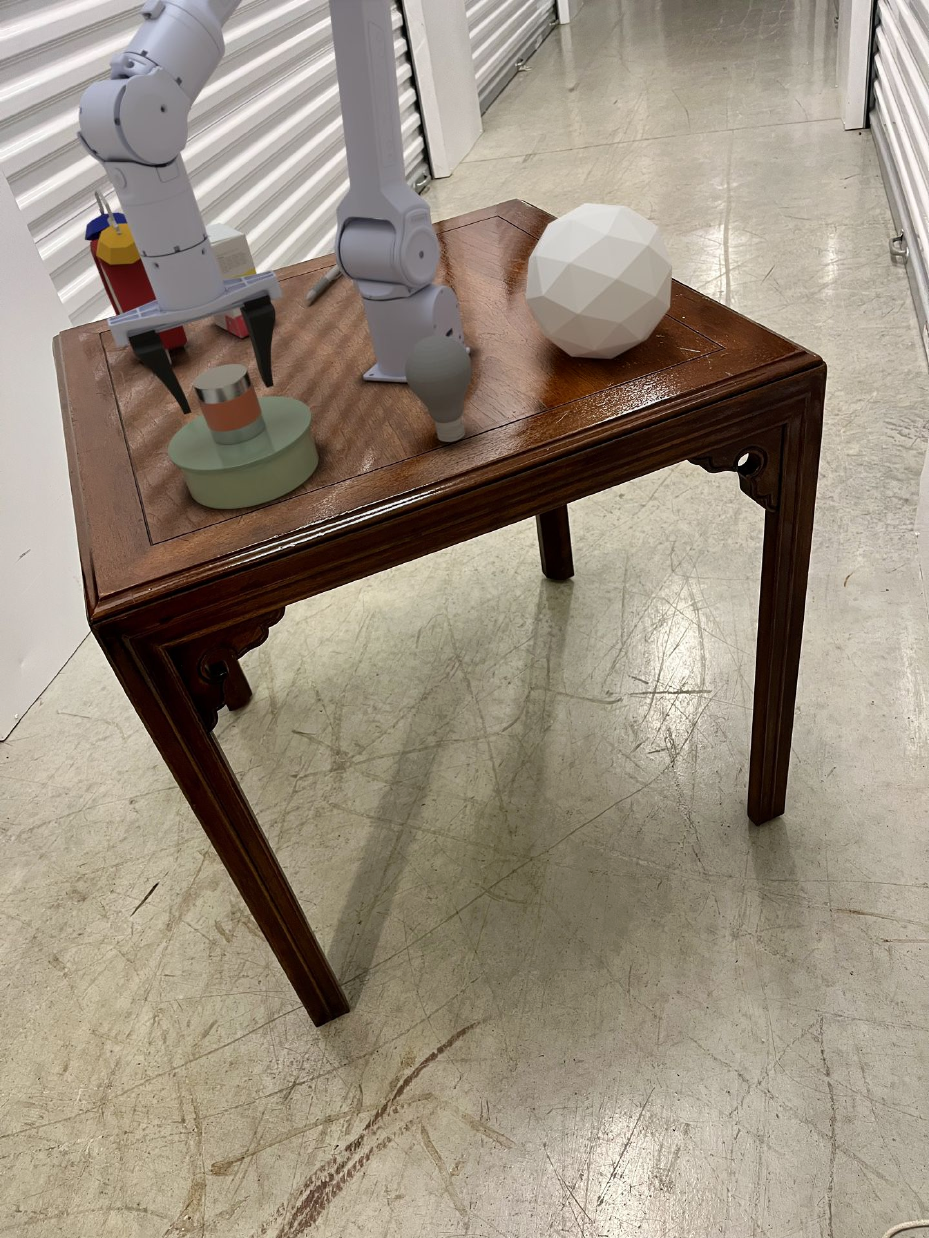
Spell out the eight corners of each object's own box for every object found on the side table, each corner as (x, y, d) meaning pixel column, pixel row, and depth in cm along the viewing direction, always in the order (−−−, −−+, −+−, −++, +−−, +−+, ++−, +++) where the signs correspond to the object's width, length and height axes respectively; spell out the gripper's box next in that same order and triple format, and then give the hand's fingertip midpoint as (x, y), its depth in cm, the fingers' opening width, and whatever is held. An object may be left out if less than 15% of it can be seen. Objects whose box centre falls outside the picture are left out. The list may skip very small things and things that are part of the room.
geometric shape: (618, 376, 104) (670, 239, 101) (655, 384, 90) (717, 224, 86) (497, 331, 102) (546, 189, 98) (516, 332, 88) (574, 165, 84)
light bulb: (408, 445, 89) (385, 345, 83) (453, 418, 92) (433, 319, 86) (451, 461, 86) (430, 358, 79) (496, 432, 88) (479, 330, 82)
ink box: (274, 326, 120) (246, 231, 113) (240, 340, 118) (208, 244, 111) (248, 311, 126) (218, 220, 119) (214, 324, 124) (182, 232, 117)
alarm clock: (126, 344, 124) (60, 184, 111) (188, 323, 126) (131, 164, 114) (149, 380, 113) (79, 207, 100) (217, 356, 115) (157, 184, 103)
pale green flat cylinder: (350, 442, 92) (338, 400, 89) (271, 520, 83) (255, 476, 80) (240, 432, 98) (226, 392, 95) (156, 503, 89) (137, 462, 86)
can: (260, 412, 90) (241, 358, 87) (271, 433, 86) (252, 377, 83) (208, 429, 89) (188, 375, 86) (217, 451, 85) (196, 395, 82)
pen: (350, 266, 133) (347, 256, 132) (312, 306, 123) (309, 295, 122) (343, 266, 133) (341, 256, 133) (305, 306, 123) (302, 296, 123)
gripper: (249, 209, 81) (293, 357, 90) (82, 257, 79) (144, 405, 87) (266, 228, 76) (311, 383, 84) (87, 279, 73) (153, 434, 82)
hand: (227, 396), depth 85 cm, fingers open, 7 cm apart
